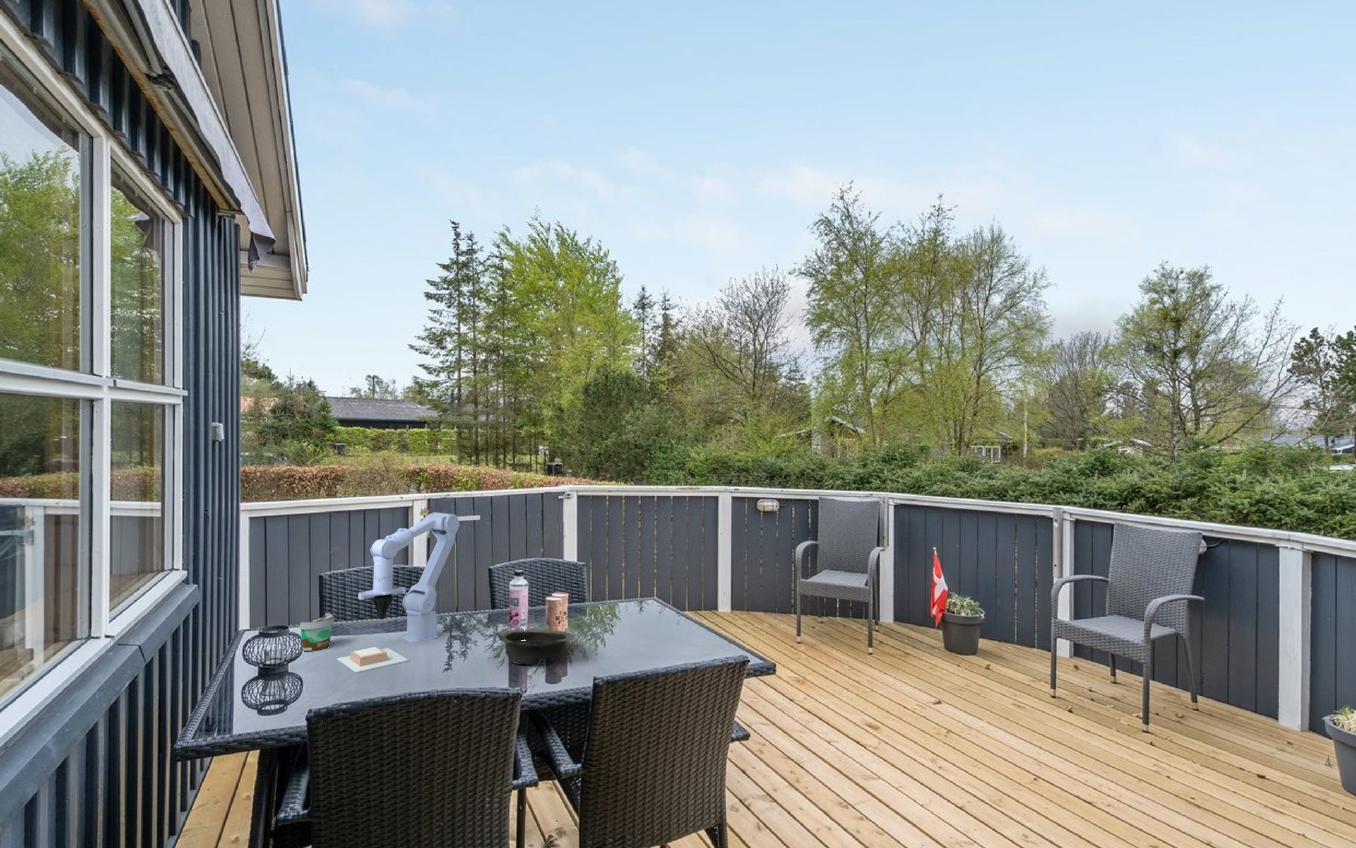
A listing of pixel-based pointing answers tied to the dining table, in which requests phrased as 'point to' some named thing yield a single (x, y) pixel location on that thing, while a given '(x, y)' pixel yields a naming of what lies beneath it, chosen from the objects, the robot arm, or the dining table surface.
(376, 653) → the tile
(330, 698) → the dining table surface
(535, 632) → the stone bowl
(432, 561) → the robot arm
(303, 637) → the food container
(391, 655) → the mat
